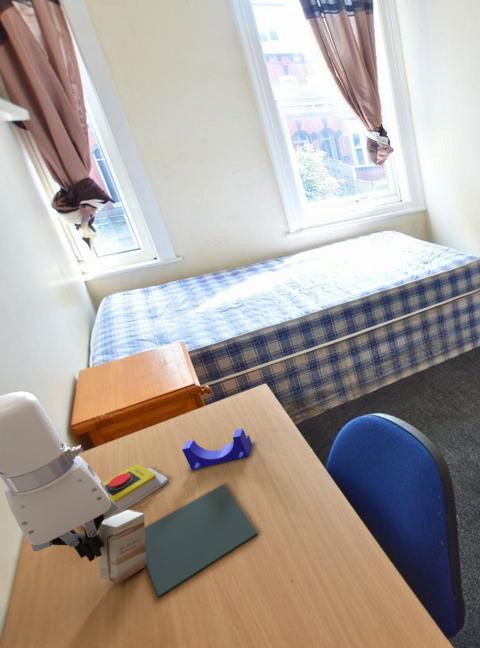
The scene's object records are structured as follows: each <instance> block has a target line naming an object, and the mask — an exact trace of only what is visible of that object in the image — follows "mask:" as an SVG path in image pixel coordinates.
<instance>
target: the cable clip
mask: <svg viewBox="0 0 480 648" xmlns="http://www.w3.org/2000/svg"><path fill="white" fill-rule="evenodd" d="M232 440H233V441H232V442H230V443H228V444H226V445H223V447H222V448H221V450H210V449H206V448H204V447H201V446H200V445H199V444H198V443H197V442H196V441H195V439H191V440H186V442H185V443H184V445H183V447H182V449H181V451H182V453H183V455H184V457H185V459H186V461H187V463H188V465H189V467H190V469H191V471H194V470H198V469H202V468H206V467H211V466H215V465H219V464H223V463H227V462H231V461H237V460H239V459H244V458H248V457H249V455H250V452H251V451H252V448H253V442H252V440H251V437H250V435H249V434H246V432H245V430H244V428H238V429H235V432H234V433H233V436H232Z"/></svg>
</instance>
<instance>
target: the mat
mask: <svg viewBox="0 0 480 648" xmlns="http://www.w3.org/2000/svg"><path fill="white" fill-rule="evenodd" d="M257 536H258V532H257V531H256V529H255V527H254V526H253V525H252V523H251V522H250V520H249V519H248V517H247V516H246V515H245V513H244V512H243V510H242V509H241V507H240V506H239V505H238V503H237V502H236V500H235V499H234V498H233V496H232V495H231V492H229V490H228V489H227V487H226V486H225V485H224V484H222V485H220V486H218V487H217V488H215V489H213V490H211V491H209V492H207V493H206V494H204V495H202V496H200V497H198V498H197V499H195V500H193V501H190V502H189V503H187V504H186V505H184V506H182V507H180V508H178V509H177V510H175V511H173V512H171V513H169V514H168V515H166V516H164V517H162V518H160V519H159V520H157V521H154V522H153V523H151V524H149V525H147V526H145V551H146V567H147V570H148V573H149V577H150V578H151V581H152V584H153V586H154V589H155V592H156V595H157V597H158V598H161V597H162V596H164V595H166V594H167V593H169V592H170V591H172V590H173V589H175V588H177V587H178V586H180V585H181V584H183V583H185V582H186V581H187V580H189V579H191V578H192V577H194V576H196V575H197V574H198V573H200V572H202V571H203V570H205V569H206V568H208V567H210V566H211V565H213V564H214V563H216V562H218V561H219V560H221V559H222V558H223V557H226V555H228V554H230V553H231V552H233V551H234V550H236V549H238V548H239V547H240V546H242V545H244V544H245V543H247V542H248V541H250V540H251V539H254V538H255V537H257Z"/></svg>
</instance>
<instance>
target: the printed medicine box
mask: <svg viewBox="0 0 480 648" xmlns="http://www.w3.org/2000/svg"><path fill="white" fill-rule="evenodd" d="M145 525H146V523H145V513H144V512H141V511H138V510H133V509H128V508H127V509H125V510H124V511H122V512H120V513H118V514H116V515H113V516H111V517H109V518H107V519H105V520H103V522H102V523H101V525H100V527H99V529H98V530H97V533H98V535H99V536H100V538H101V539H102V541H103V543H104V546H103V547H101V548H100V549H101V553H102V555H101V556H100V557H98V558H99V559H98V560H99V578H100V579H102V580H106V581H109V582H113V583H117V584H118V583H120V582H122V581H124V580H126V579H127V578H129V577H131V576H132V575H135V574H136V573H138V572H139V571H140V570H142V569H144V568H146V567H147V565H146V551H145V528H146V526H145Z"/></svg>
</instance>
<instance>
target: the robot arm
mask: <svg viewBox="0 0 480 648" xmlns="http://www.w3.org/2000/svg"><path fill="white" fill-rule="evenodd" d="M83 453H84V449H83V447H82V446H81V444H78V445H76V446H68V445H67V443H65V442H64V440H63V439H62V437H61V435H60V434H59V432H58V430H57V429H56V427H55V425H54V424H53V422H52V421H51V419H50V417H49V415H48V414H47V412H46V411H45V409H44V407H43V405H42V403H40V401H39V399H38V398H37V397H36V396H35V395H34V394H32V393H30V392H27V391H16V392H15V391H14V392H11V393H6V394H2V395H0V478H1V480H2V481H3V483H5V485H6V489H5V490H4V494H5V498H6V501H7V503H8V506H9V509H10V511H11V513H12V515H13V518H14V519H15V522H16V523H17V525H18V527H19V528H20V530H21V532H22V533H23V536H24V537H25V539H26V540H27V542H29V544H30V545H31V547H32V551H33V552H38V551H42V550H44V549H47V548H50V547H52V546H68V547H69V548H74V549H75V551H76V553H77V554H78V555H79V557H80V559H83V558H85V557H86V558H87V560H88V561H89V562H92V561H94V560H95V559H96V558H99V557H100V556H101V555H102V553H101V549H100V548H101V547H103V546H104V543H103V541H102V539H101V538H100V536H99V535H98V529H99V527H100V525H101V523H102V522H103V520H104V518H106V517H108V516H109V515H111V514H112V513H113V512H115V511H116V510H117V509H118V506H117V504H116V503H115V502H114V501H113V500H112V499H110V498H109V494H108V492H107V490H106V488H105V486H104V485H103V483H104V482H102V481H101V479H100V478H99V476H98V475H97V473H96V472H95V471H94V469H93V468H92V467H91V466H90V465H89V464H88V463H87V461H85V460H84V459H83V458H82V457H81V456H79V455H80V454H83ZM83 524H84V526H85V528H84V529H83V533H81V532H77V531H76V530H75V529H77V528H79V527H80V526H82V525H83Z"/></svg>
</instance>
